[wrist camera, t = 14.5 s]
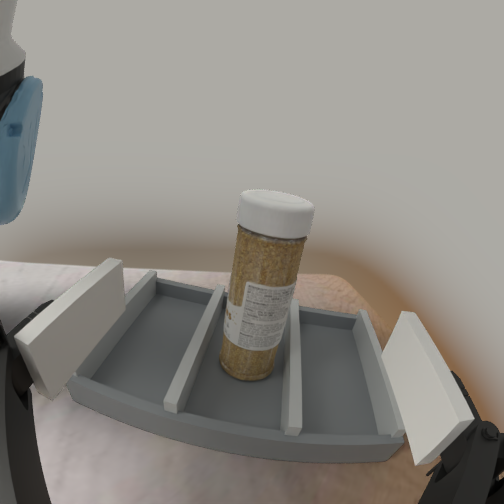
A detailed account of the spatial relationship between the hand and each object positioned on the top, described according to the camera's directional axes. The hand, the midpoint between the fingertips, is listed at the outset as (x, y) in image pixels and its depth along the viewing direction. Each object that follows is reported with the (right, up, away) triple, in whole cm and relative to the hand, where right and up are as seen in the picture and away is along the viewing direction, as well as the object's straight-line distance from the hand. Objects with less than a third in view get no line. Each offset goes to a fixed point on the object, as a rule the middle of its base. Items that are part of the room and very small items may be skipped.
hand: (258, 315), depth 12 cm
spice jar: (-1, -6, +10) cm, 12 cm away
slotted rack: (-1, -7, +10) cm, 13 cm away
